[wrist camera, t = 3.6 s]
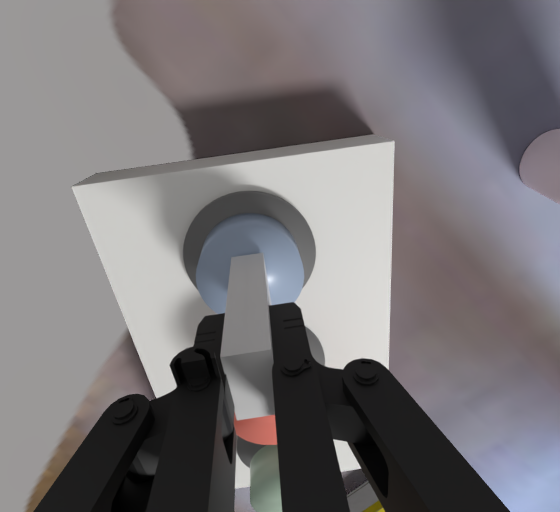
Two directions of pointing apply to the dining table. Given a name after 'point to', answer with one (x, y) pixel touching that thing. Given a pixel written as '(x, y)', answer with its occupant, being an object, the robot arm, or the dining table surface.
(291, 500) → the robot arm
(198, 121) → the dining table surface
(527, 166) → the smoothie
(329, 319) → the button panel
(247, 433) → the red button
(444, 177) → the dining table surface
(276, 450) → the sage-green button
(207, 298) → the slate-blue button
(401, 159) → the dining table surface
